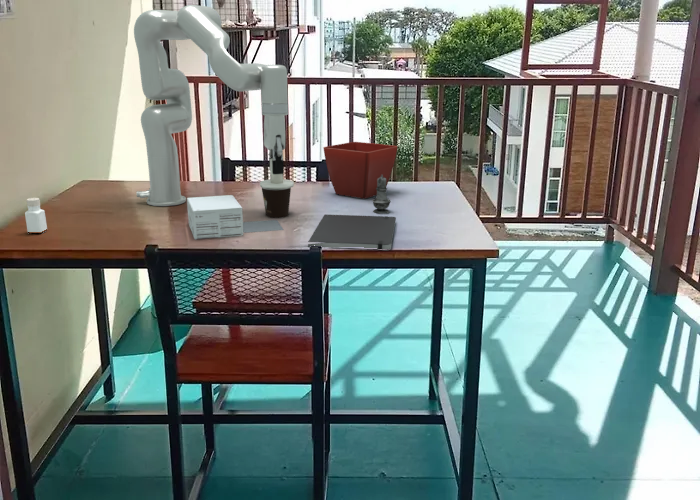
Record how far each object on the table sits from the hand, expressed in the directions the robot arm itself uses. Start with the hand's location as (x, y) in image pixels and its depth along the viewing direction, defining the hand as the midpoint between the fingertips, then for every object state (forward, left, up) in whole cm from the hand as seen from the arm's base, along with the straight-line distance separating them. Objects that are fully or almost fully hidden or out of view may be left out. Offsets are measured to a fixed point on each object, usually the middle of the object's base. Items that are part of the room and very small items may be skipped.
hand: (276, 171), depth 191 cm
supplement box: (-19, -12, -15) cm, 27 cm away
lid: (0, 0, -4) cm, 4 cm away
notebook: (+18, -22, -15) cm, 32 cm away
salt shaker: (-67, +2, -15) cm, 69 cm away
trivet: (-7, -13, -14) cm, 20 cm away
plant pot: (+34, +26, -15) cm, 45 cm away
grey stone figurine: (+33, 0, -15) cm, 36 cm away
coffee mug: (0, 0, -15) cm, 15 cm away
